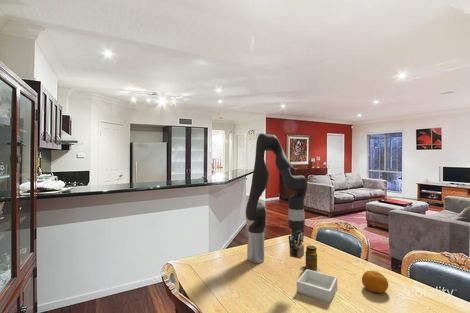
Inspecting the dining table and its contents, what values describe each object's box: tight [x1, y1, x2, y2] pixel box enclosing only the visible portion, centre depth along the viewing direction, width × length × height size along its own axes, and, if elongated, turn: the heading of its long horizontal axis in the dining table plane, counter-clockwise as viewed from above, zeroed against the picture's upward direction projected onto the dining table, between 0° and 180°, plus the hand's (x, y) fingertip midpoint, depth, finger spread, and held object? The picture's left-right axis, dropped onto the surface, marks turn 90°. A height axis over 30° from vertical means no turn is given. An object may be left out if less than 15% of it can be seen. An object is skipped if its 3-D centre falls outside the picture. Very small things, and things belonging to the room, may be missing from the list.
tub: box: [296, 269, 338, 304], centre depth 111 cm, size 14×14×5 cm
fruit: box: [361, 270, 389, 294], centre depth 111 cm, size 10×10×8 cm
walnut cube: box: [289, 243, 305, 260], centre depth 113 cm, size 5×5×5 cm
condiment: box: [299, 245, 321, 272], centre depth 132 cm, size 7×8×12 cm
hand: (296, 254), depth 113 cm, fingers closed on walnut cube, 5 cm apart
